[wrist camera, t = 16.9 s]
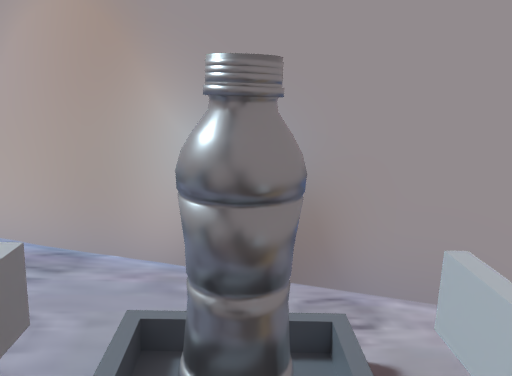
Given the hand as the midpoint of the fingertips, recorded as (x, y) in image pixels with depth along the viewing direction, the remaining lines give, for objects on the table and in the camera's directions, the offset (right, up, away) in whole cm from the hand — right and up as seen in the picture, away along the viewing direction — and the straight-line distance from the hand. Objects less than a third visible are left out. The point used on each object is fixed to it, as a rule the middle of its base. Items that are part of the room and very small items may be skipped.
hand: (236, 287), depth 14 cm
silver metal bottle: (-1, -11, +11) cm, 15 cm away
